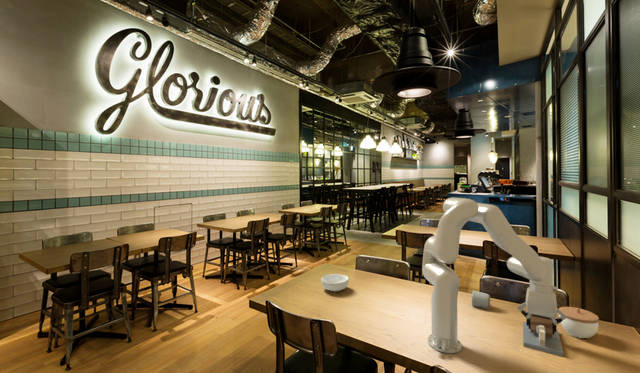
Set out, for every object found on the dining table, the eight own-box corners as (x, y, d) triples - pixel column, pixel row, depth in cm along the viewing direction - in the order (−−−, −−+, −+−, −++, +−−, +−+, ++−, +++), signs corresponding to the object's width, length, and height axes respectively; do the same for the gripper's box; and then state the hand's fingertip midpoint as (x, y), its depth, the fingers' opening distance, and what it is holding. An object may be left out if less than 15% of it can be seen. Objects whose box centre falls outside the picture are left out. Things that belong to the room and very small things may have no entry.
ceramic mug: (490, 311, 142) (490, 296, 142) (471, 307, 146) (471, 292, 146) (490, 303, 151) (490, 289, 151) (472, 300, 155) (472, 286, 155)
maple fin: (545, 346, 109) (545, 332, 109) (539, 345, 110) (539, 331, 110) (542, 326, 123) (542, 314, 123) (537, 325, 124) (537, 313, 124)
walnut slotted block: (552, 337, 113) (552, 320, 113) (530, 332, 117) (530, 315, 117) (551, 333, 116) (551, 316, 116) (530, 328, 120) (530, 312, 120)
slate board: (563, 356, 105) (563, 352, 105) (523, 346, 112) (523, 342, 112) (557, 332, 121) (557, 329, 121) (522, 324, 128) (522, 321, 128)
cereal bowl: (331, 282, 185) (331, 272, 185) (353, 288, 176) (353, 276, 175) (315, 291, 171) (315, 279, 171) (339, 297, 162) (338, 285, 162)
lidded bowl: (551, 326, 126) (551, 302, 126) (580, 326, 126) (580, 302, 126) (575, 342, 114) (575, 315, 113) (608, 342, 113) (608, 315, 113)
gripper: (567, 288, 114) (567, 332, 115) (515, 280, 124) (515, 320, 125) (570, 295, 108) (570, 341, 108) (515, 286, 118) (515, 328, 118)
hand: (541, 329), depth 116 cm, fingers closed on walnut slotted block, 7 cm apart
